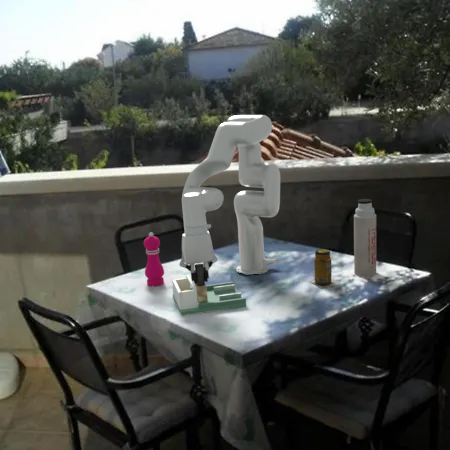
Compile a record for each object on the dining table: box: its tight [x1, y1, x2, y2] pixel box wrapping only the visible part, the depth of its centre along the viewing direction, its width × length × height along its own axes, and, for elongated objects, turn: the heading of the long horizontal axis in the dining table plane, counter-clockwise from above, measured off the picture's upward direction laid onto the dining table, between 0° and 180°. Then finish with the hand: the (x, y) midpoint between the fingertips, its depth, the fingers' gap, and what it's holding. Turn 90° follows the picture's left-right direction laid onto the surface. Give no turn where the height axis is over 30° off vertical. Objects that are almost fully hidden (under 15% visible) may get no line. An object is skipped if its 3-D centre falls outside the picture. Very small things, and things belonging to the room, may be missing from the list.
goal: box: [171, 274, 198, 310], centre depth 215 cm, size 6×14×7 cm, turn 13°
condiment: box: [309, 248, 339, 289], centre depth 227 cm, size 7×8×12 cm
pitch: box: [172, 281, 247, 316], centre depth 217 cm, size 22×18×3 cm
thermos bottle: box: [353, 198, 377, 278], centre depth 232 cm, size 8×8×28 cm
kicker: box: [194, 263, 208, 302], centre depth 215 cm, size 3×6×12 cm, turn 13°
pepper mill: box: [143, 232, 165, 287], centre depth 236 cm, size 7×7×20 cm
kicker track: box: [214, 284, 242, 301], centre depth 218 cm, size 8×10×2 cm
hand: (200, 281), depth 215 cm, fingers closed on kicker, 3 cm apart
